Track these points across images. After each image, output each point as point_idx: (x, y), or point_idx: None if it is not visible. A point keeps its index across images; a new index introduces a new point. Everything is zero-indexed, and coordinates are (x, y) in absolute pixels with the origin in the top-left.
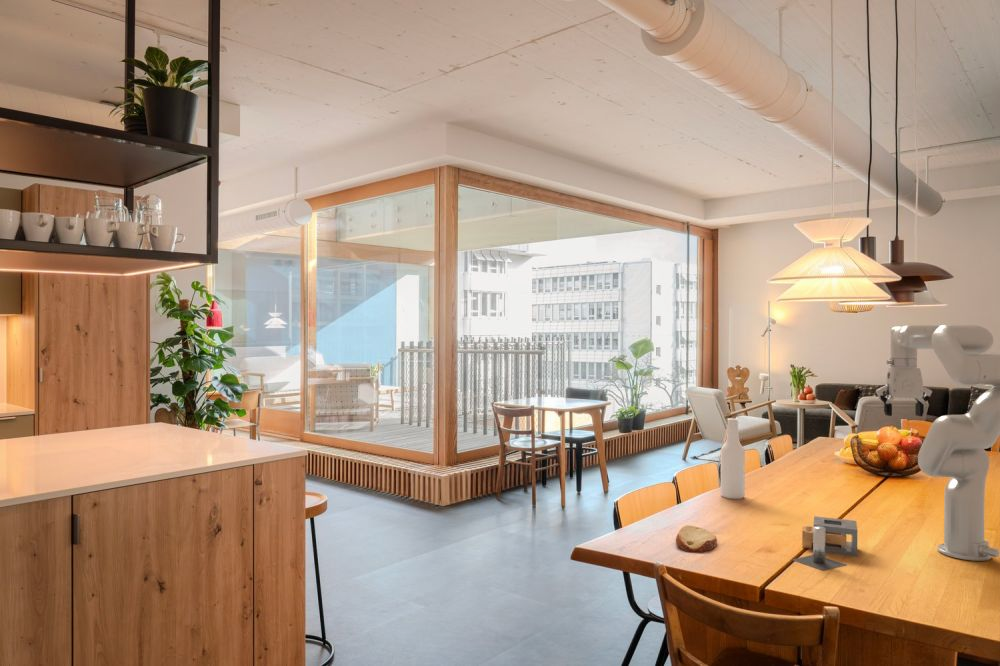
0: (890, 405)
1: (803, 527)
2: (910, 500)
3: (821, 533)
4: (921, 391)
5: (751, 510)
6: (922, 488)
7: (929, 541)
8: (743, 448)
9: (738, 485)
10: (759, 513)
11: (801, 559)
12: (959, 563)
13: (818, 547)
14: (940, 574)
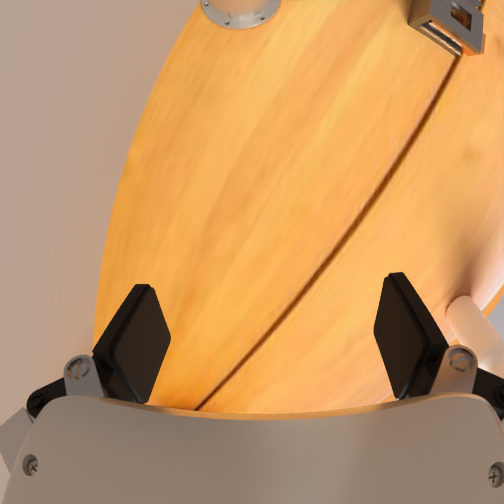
0: (433, 331)
1: (483, 49)
2: (193, 328)
3: None
4: (32, 460)
5: (475, 234)
6: (161, 378)
7: (268, 57)
8: (484, 357)
9: (469, 307)
10: (474, 218)
11: (473, 1)
12: None
13: None
14: None
